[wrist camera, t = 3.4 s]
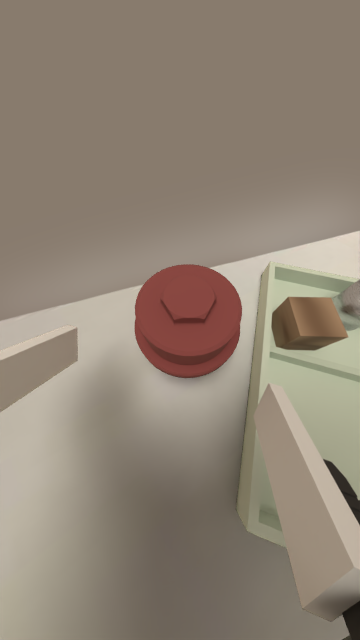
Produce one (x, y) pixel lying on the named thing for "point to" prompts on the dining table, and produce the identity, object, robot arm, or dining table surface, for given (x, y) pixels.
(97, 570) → the dining table surface
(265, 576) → the dining table surface
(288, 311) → the walnut block
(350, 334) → the tray
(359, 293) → the metal ellipsoid
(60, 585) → the dining table surface
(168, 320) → the mechanical component
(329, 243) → the dining table surface
